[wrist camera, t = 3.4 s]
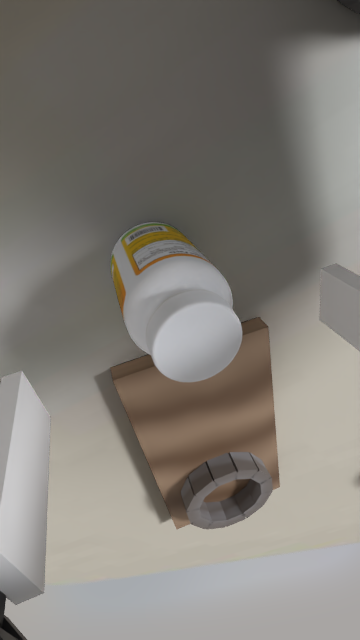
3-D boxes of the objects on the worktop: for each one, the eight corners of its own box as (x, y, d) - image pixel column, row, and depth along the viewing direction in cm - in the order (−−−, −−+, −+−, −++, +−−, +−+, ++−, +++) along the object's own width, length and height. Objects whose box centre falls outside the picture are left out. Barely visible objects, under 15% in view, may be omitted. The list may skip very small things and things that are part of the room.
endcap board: (110, 367, 25) (116, 400, 22) (258, 316, 27) (281, 341, 24) (173, 515, 37) (181, 549, 35) (273, 475, 39) (289, 504, 36)
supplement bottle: (162, 311, 24) (210, 409, 16) (93, 278, 22) (108, 374, 14) (206, 247, 23) (283, 319, 15) (137, 202, 20) (184, 261, 12)
